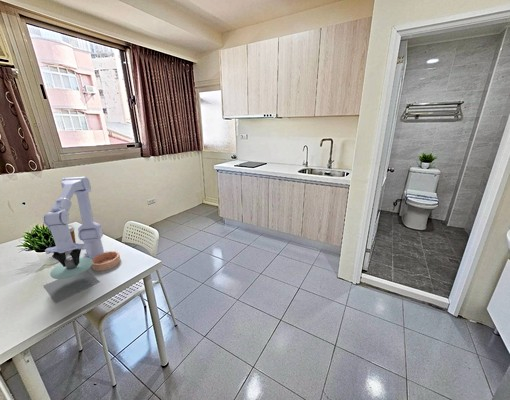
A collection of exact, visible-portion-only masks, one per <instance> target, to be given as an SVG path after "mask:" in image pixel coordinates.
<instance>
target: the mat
mask: <svg viewBox="0 0 510 400" xmlns="http://www.w3.org/2000/svg"><path fill="white" fill-rule="evenodd" d="M98 283H101V281H100V280H99V279H98V278H96V276H95V275H94V274H92V273H91V271H89V269H87V270H86V271H84V272H82V273H81V274H78V275H76V276H73V277H70V278H65V279H54V281H51V282H47V283H46V284H44V285H43V287H44V288H45V291H46V292H47V293H48V295H49V296H50V297H51V299H52V300H53V302H54V303H55V304H58V303H60V302H62V301H64V300H66V299H69V298H70V297H72V296H74V295H76V294H79V293H80V292H82V291H84V290H87V289H88V288H91V287H93V286H95V285H96V284H98Z"/></svg>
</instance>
